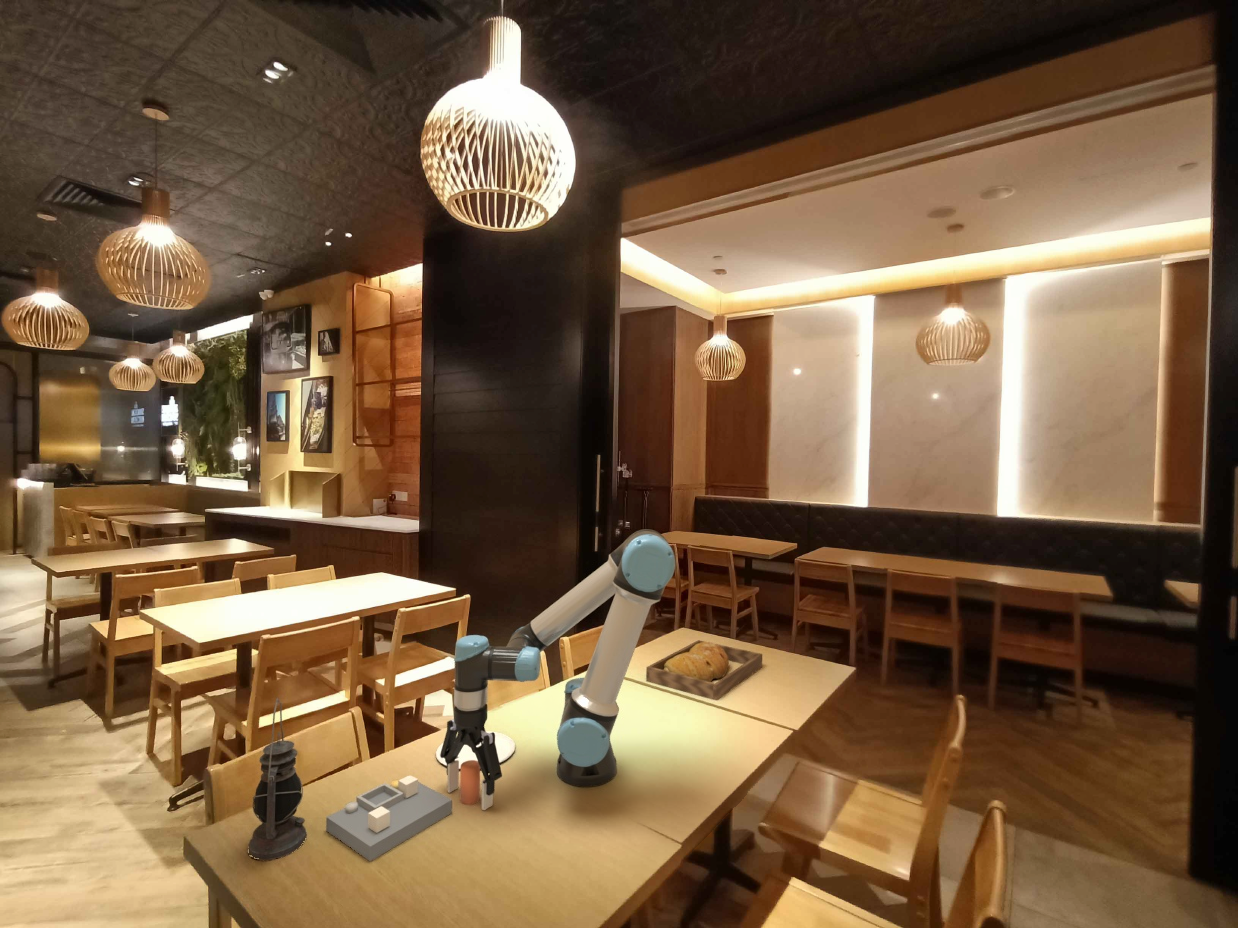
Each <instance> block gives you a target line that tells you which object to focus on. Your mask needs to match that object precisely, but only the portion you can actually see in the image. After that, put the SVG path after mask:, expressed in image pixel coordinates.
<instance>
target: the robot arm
mask: <svg viewBox="0 0 1238 928" xmlns="http://www.w3.org/2000/svg"><path fill="white" fill-rule="evenodd" d="M675 559H676V558H675V554H674V551H673V548H672V547H671V546H670V544H669V542H668V540H667V538H666V537H665V536H664V535H663V534H662V533H660V532H658V531H656V530H653V529H640V530H636V531H635V532H634V533H632V534H631V535H629V536H628V537H627V538H626V539H625V540H624V541H623V543H621V544H620V545H619V546H618V547H617V548H616V549H615V550H613V551H612V552H611V553H609V554H608V559H607V561H606V562H604V563H603V564H602V565H601V566H599V567H598V568H597V569H596V570H595V571H592V573H591V574H589V575H588V576H587V577H586V578H584V579H583V580H581V582H579V583H578V584H577V585H576V586H574V587H573V588H571V589H570V590H569V591H568V592H566V593H565V594H564V595H562V596H561V597H560V598H559V599H558V600H556V601H555V602H553V604H551V605H550V606H549V607H548V608H546V609H545V610H544V611H542V612H541V613H540V614H538V615H537V616H536V617H535V618H534V619H532V620H531V621H530V622H529V623H528V624H526V625H525V626H521V627H519V628H518V629H516V630H515V632H513V633H512V634H511V637H510V638H509V641H508V643H507V644H506V646H493V645H490V642H489V639H488V637H486V636H484V635H478V634H473V635H472V634H471V635H465V636H463V637H460V638H459V639H458V640H457V641H456V642H455V650H454V660H453V661H454V691H453V695H454V696H453V704H454V708H453V718H452V719H450V720H448V721H447V722H446V732H445V736H444V740H443V742H444V743H443V742H442V743H443V746H442V750H441V753H440V756H441V758H444V759H445V762H446V763H447V767H446V776H447V782H446V784H447V785H446V786H447V787H446V788H447V791H446V792H448V793H452V792H454V791H456V790H457V789H459V788H460V785H459V782H460V780H459V779H460V772H459V771H460V770H459V761H458V760H455V759H457V758H459V757H458V755H459V753H460V751H461V749H462V748H463V746H464V745H468V746H469V747H471V749H472V752H473V753H475V755H476V757H477V760H478V763H479V765H480V768H481V769H480V772H481V773H482V776H483V778H484V779H483V780H481V810H482V811H486V810H487V809H489V808H490V807H492V806H493V805H494V803H493V802H494V794H495V786H496V785H495V784H496V783H495V782H496V781H497V780H499V779H500V778H502V776H503V773H502V769H501V765H500V764H501V763H500V764H499V759H498V754H497V750H496V745H495V733H494V732H495V731H491V732H492V733H490V734H489V733H487V732H486V731H487V730H486V728H485V725H486V722H487V720H488V704H487V703H488V690H489V689H488V688H489V686H488V682H489V681H499V682H500V681H504V682H521V683H525V682H535V681H536V680H537V679H538V678H539V676H540V671H541V666H542V665H541V660H542V659H541V658H542V656H541V653H542V652H543V651H544V650H545V649H547V648H548V647H549V646H550V645H551V644H552V643H554V642H555V641H557V639H559V638H560V637H561V636H563V635H564V634H566V633H567V632H568V631H569V630H571V629H572V628H573V627H574V626H576V625H577V624H578V623H579V622H580V621H582V620H583V619H585V618H586V617H587V616H588V615H590V614H591V613H592V612H594V611H595V610H596V609H597V608H598V607H600V606H602V604H604V603H605V602H606V601H608V600H609V599H610V598H611V597H613V596H614V597H613V600H612V602H611V605H610V607H609V611H608V612H607V615H606V619H605V622H604V624H603V627H602V629H601V633H600V635H599V637H598V640H597V642H596V646H595V648H594V652H593V654H592V656H591V659H590V662H589V665H588V668H587V670H586V672H585V675H584V677H578V678H577V677H576V678H572V679H570V680H568V681H567V682H566V683H565V686H564V688H565V689H564V691H563V692H564V707H563V710H562V711H563V712H562V715H561V719H560V723H559V728H558V730H557V733H556V744H557V749H558V751H559V755H558V758H557V761H556V762H557V763H556V774H557V776H558V778H559V779H560V780H561V781H563V782H564V783H567V784H568V785H572V786H575V787H583V788H584V787H587V788H590V787H597V786H601V785H604V784H606V783H608V782H610V781H611V780H612V779H614V777H616V775H617V770H618V769H617V766H618V764H617V759H616V756H615V754H614V749H613V745H612V743H611V734H612V731H613V728H614V726H615V724H616V721H617V718H618V715H619V712H620V708H619V707H620V706H619V705H618V703H617V698H618V697H619V693H620V690H621V688H622V685H623V683H624V679H625V677H626V674H627V671H628V669H629V666H630V663H631V661H632V657H633V655H634V653H635V649H636V647H637V644H638V641H639V639H640V637H641V633H642V630H643V628H644V625H645V623H646V619H647V618H648V614H649V612H650V609H651V606H652V605H654V604H656V603H658V602H660V601H661V599H662V596H663V593H664V591H665V588H666V585H668V583H669V582H670V581H671V579H672V578H673V575H674V573H675V569H676V560H675ZM456 736H457V737H456ZM454 742H455V743H454ZM480 742H481V746H479V747H476V746H477V745H479V744H480Z"/></svg>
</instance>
